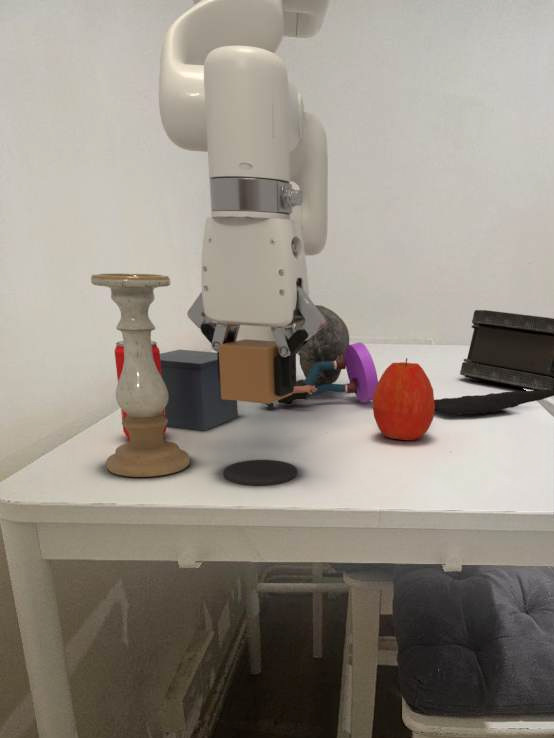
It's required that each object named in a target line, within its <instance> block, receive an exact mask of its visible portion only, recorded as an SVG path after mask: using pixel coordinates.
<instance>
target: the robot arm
mask: <svg viewBox="0 0 554 738" xmlns="http://www.w3.org/2000/svg"><path fill="white" fill-rule="evenodd" d="M192 1H193V6H191V7H190V8H189V9H187V10H186V11H185V12H184V13H182V14H181V15H180V16H178V18H176V19H175V20H174V21H173V22H172V23H171V25H169V27H168V29H167V31H166V33H165V35H164V38H163V41H162V45H161V50H160V58H159V59H160V60H159V77H158V106H159V115H160V119H161V124H162V128H163V129H164V130H163V131H164V132H165V134H166V136H167V137H168V139H169V141H171V142H172V143H173V144H174V145H175V146H176V147H178V148H180V149H182V150H186V151H190V152H202V153H203V152H205V153H207V159H208V160H207V161H208V179H209V195H210V196H209V197H210V198H209V199H210V212H211V213H210V216H209V217H208V216H207V217H206V218H205V223H204V229H203V239H202V249H201V291H200V293H199V295H198V296H197V298H196V299H195V301H194V302H193V303H192V305H191V306H190V307H189V309H188V310H187V317H188V319H189V320H190V322H192V323H193V324H194V325H195V326H196V327H197V328H198V329H199V330H200V333H202V335H203V336H204V337H205V338H206V339H207V340H208V342H209V343H210V345H211V349H212V350H213V351H214V352H215V353H217V357H218V375H219V380H220V364H219V347H218V346H219V345H221V344H225V343H230V342H235V341H240V340H244V339H248V340H262V341H275V343H276V346H277V349H278V356H276V357H275V358H274V380H275V394H276V396H284V395H287V394H289V393H292V392H293V390H294V387H295V385H296V381H297V355H298V353H299V352H300V350H301V348H302V347H303V346H304V345H305V344H306V343H307V342H308V341H309V340H310V339H311V337H312V336H313V335H315V334H316V333H317V332H318V331H319V330H320V329H321V328H322V327H323V326H324V325H325V324H326V320H325V318H324V317H323V315H322V314H321V313H320V311H319V310H318V309H317V307H316V306H315V305H316V304H314V303H315V302H313V301H312V299H311V298H310V290H309V279H308V277H309V276H308V267H307V258H306V257H308V256H316V255H318V254H321V253H322V251H323V250H324V249H325V246H326V243H327V237H328V202H329V201H328V198H329V197H328V195H329V194H328V191H329V190H328V189H329V188H328V187H329V184H328V183H329V182H328V180H329V179H328V177H329V175H328V172H329V171H328V170H329V169H328V168H329V157H328V138H327V132H326V130H325V126H324V124H323V122H322V120H321V119H320V118H319V117H318V116H317V115H315V114H313V113H311V112H307V111H305V104H304V98H303V96H302V94H301V92H299V91H298V89H297V86H296V85H295V83H294V81H293V80H292V78H291V77H290V76H289V74H288V71H287V67H286V64H285V62H284V61H283V59H282V58H281V57H280V56H278V55H277V54H276V52H277V50H278V49H279V47H280V46H281V44H282V41H283V37H288V38H298V39H308V38H313V37H315V36H316V35H317V34H318V33H319V32H320V30H321V29H322V25H323V23H324V21H325V16H326V14H327V11H328V8H329V4H330V1H331V0H192ZM292 183H294V184H296V185H297V186H298V188H299V189H294V188H293V184H292ZM304 321H305V323H304V325H303V326H302V327H301V328H300V329H299V330H297V331H295V325H296V324H298V323H302V322H304Z"/></svg>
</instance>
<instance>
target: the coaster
mask: <svg viewBox="0 0 554 738" xmlns="http://www.w3.org/2000/svg"><path fill="white" fill-rule="evenodd" d="M222 471H223V477H224V478H225V479H226V480H227V481H228V482H231V483H235V484H239V485H243V486H244V485H245V486H271V485H278V484H282V483H283V484H284V483H286V482H289V481H291V480H293V479H295V478H296V477H297V475H298V469H297V467H296V466H295V465H294V464H291V463H289V462H285V461H281V460H276V459H275V460H274V459H251V460H243V461H238V462H235V463H233V464H229V465H228V466H225V468H224V469H223V470H222Z"/></svg>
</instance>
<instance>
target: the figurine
mask: <svg viewBox="0 0 554 738" xmlns="http://www.w3.org/2000/svg"><path fill="white" fill-rule="evenodd" d="M334 368H335V369H336V370H340V369H342V370H346V373H347V378H348V380H349V383H332V384H323V385H319V386H314V383H315V381H316V379H317V377H318V374H319V371H320V370H330V369H334ZM378 382H379V379H378V372H377V369H376V365H375V363H374V360H373V357H372V354H371V353H370V351H369V349H368V347H367V346H366V345H365V344H364V343H363V342H361V341H360V342H354V343H351V344H349V345H348V346H347V347H346V350H345V357H344V354H343V352H341V353H339V354H338V359H336V360H333V361H328V362H318V363H316V364H314V366H313V367H312V369H311V371H310V372H309V374H308V375H307V377H305V379H299V380H296V385H295V387H294V390H293V392H292V395H290V396H287V397H285V398H282V399H280V400H277V401H276V402H278V403H279V404H283V405H288V406H290V405H292V404H294V403H295V402H296V401H297V400H302V401H306V400H308V399H310V398H313V397H316V396H319V395H323V394H325V393H329V392H331V393H347V394H354V395H355V397H356V398H357V400H359V401H360V402H361V403H364V404H365V403H367V402H371V401H373V394H374V391H375V388H376V386H377V384H378ZM262 405H266V406H267V407H268V408H269V409H270V410H273V409H274V402H272V403H270V404H264V403H262Z"/></svg>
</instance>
